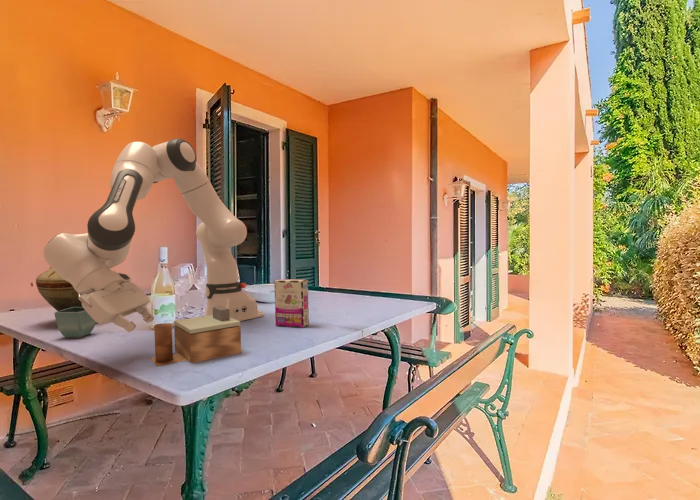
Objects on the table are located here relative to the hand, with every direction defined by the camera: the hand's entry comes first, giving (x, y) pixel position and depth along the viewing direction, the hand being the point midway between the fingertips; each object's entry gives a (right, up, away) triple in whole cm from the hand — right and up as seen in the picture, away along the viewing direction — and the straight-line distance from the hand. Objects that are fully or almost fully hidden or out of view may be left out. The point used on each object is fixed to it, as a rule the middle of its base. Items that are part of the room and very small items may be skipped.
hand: (142, 324), depth 99 cm
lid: (+14, -1, +7) cm, 15 cm away
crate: (+11, -10, +5) cm, 16 cm away
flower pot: (-37, -10, +30) cm, 49 cm away
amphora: (-52, -9, +52) cm, 74 cm away
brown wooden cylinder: (+5, -9, +1) cm, 10 cm away
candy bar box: (+32, -8, +41) cm, 52 cm away
